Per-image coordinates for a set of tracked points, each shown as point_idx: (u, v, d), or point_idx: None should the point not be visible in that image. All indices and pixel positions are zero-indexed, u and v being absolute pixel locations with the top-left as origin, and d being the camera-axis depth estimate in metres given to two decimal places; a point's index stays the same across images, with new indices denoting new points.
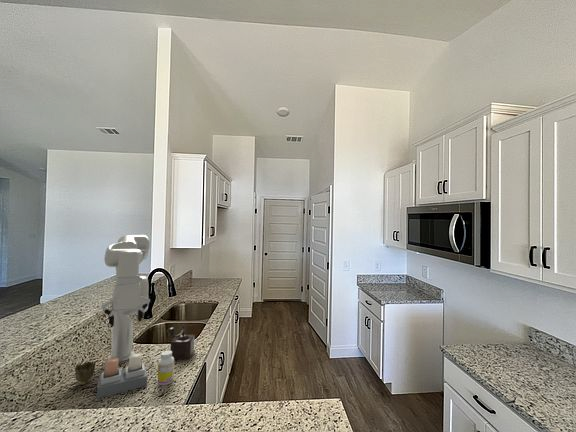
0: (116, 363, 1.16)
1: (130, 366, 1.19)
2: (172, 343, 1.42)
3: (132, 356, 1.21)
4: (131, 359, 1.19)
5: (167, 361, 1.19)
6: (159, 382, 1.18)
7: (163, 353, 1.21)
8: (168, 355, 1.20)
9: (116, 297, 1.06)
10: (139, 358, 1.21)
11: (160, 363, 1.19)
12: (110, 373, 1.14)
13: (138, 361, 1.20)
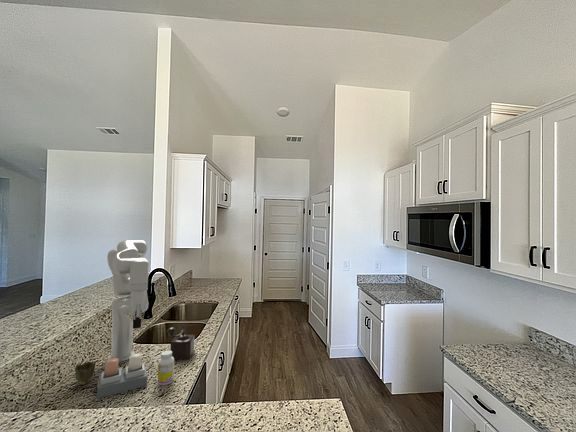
0: (116, 363, 1.16)
1: (130, 366, 1.19)
2: (172, 343, 1.42)
3: (132, 356, 1.21)
4: (131, 359, 1.19)
5: (167, 361, 1.19)
6: (159, 382, 1.18)
7: (163, 353, 1.21)
8: (168, 355, 1.20)
9: (143, 301, 1.21)
10: (139, 358, 1.21)
11: (160, 363, 1.19)
12: (110, 373, 1.14)
13: (138, 361, 1.20)
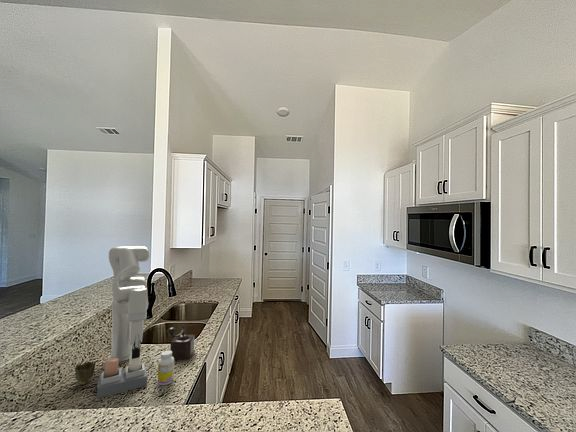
0: (116, 363, 1.16)
1: (130, 368, 1.19)
2: (172, 343, 1.42)
3: None
4: (131, 361, 1.19)
5: (167, 361, 1.19)
6: (159, 382, 1.18)
7: (163, 353, 1.21)
8: (168, 355, 1.20)
9: (142, 331, 1.20)
10: (139, 360, 1.21)
11: (160, 363, 1.19)
12: (110, 373, 1.14)
13: (138, 363, 1.20)
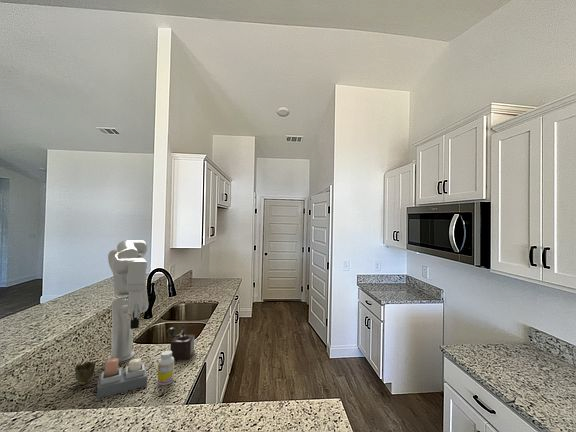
0: (116, 363, 1.16)
1: None
2: (172, 343, 1.42)
3: (132, 361, 1.21)
4: (131, 364, 1.19)
5: (167, 361, 1.19)
6: (159, 382, 1.18)
7: (163, 353, 1.21)
8: (168, 355, 1.20)
9: (141, 301, 1.20)
10: (139, 363, 1.20)
11: (160, 363, 1.19)
12: (110, 373, 1.14)
13: (138, 366, 1.20)
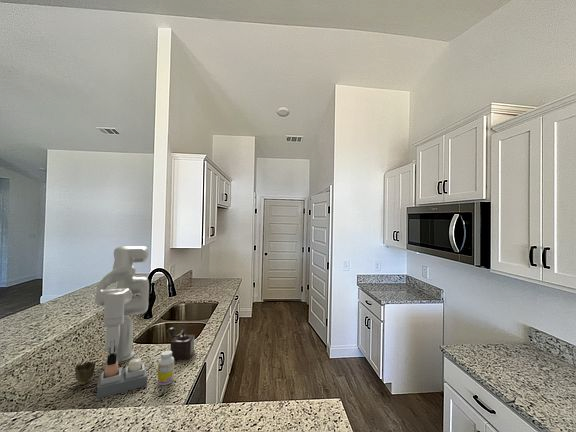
0: (116, 366, 1.16)
1: None
2: (172, 343, 1.42)
3: (132, 361, 1.21)
4: (131, 364, 1.19)
5: (167, 361, 1.19)
6: (159, 382, 1.18)
7: (163, 353, 1.21)
8: (168, 355, 1.20)
9: (118, 336, 1.15)
10: (139, 363, 1.20)
11: (160, 363, 1.19)
12: (110, 376, 1.14)
13: (138, 366, 1.20)
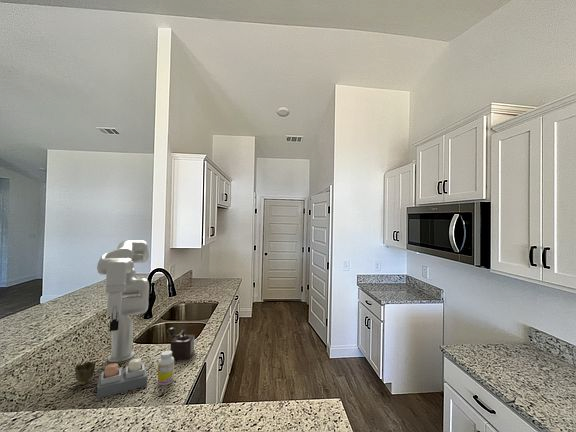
0: (116, 368, 1.16)
1: None
2: (172, 343, 1.42)
3: (132, 361, 1.21)
4: (131, 364, 1.19)
5: (167, 361, 1.19)
6: (159, 382, 1.18)
7: (163, 353, 1.21)
8: (168, 355, 1.20)
9: (120, 303, 1.17)
10: (139, 363, 1.20)
11: (160, 363, 1.19)
12: None
13: (138, 366, 1.20)
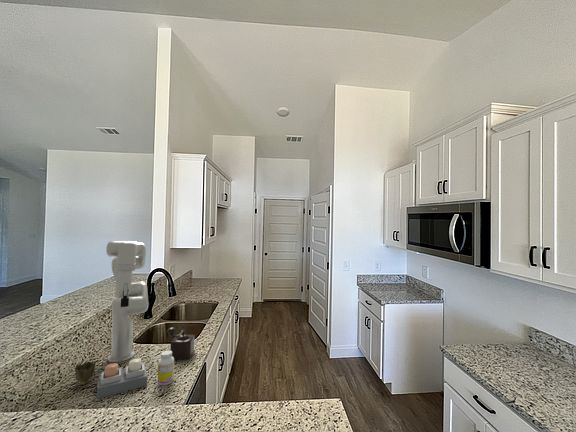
0: (116, 368, 1.16)
1: None
2: (172, 343, 1.42)
3: (132, 361, 1.21)
4: (131, 364, 1.19)
5: (167, 361, 1.19)
6: (159, 382, 1.18)
7: (163, 353, 1.21)
8: (168, 355, 1.20)
9: (131, 280, 1.26)
10: (139, 363, 1.20)
11: (160, 363, 1.19)
12: None
13: (138, 366, 1.20)
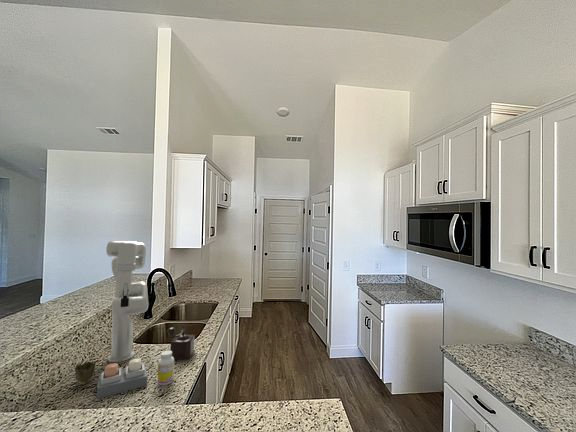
0: (116, 368, 1.16)
1: None
2: (172, 343, 1.42)
3: (132, 361, 1.21)
4: (131, 364, 1.19)
5: (167, 361, 1.19)
6: (159, 382, 1.18)
7: (163, 353, 1.21)
8: (168, 355, 1.20)
9: (131, 280, 1.26)
10: (139, 363, 1.20)
11: (160, 363, 1.19)
12: None
13: (138, 366, 1.20)
